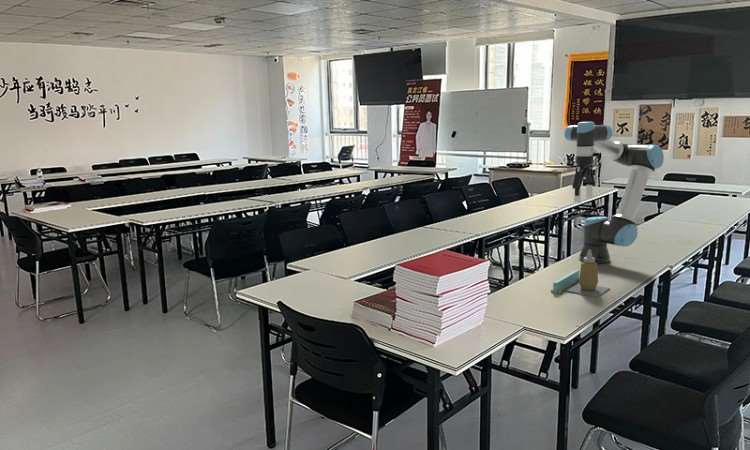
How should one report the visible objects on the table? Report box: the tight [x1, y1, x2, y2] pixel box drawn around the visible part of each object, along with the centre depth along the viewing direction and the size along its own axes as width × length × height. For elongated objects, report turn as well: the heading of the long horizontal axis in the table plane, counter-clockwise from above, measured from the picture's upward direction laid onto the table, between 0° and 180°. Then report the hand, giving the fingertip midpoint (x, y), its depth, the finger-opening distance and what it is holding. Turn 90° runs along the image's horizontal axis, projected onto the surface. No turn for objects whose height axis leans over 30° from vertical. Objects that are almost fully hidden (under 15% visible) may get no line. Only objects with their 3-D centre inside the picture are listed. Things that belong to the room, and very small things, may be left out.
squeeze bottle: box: [578, 250, 599, 291], centre depth 245 cm, size 8×8×18 cm
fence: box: [550, 269, 580, 295], centre depth 253 cm, size 4×24×5 cm, turn 138°
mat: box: [565, 282, 611, 299], centre depth 247 cm, size 14×14×1 cm
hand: (583, 200), depth 263 cm, fingers open, 13 cm apart
